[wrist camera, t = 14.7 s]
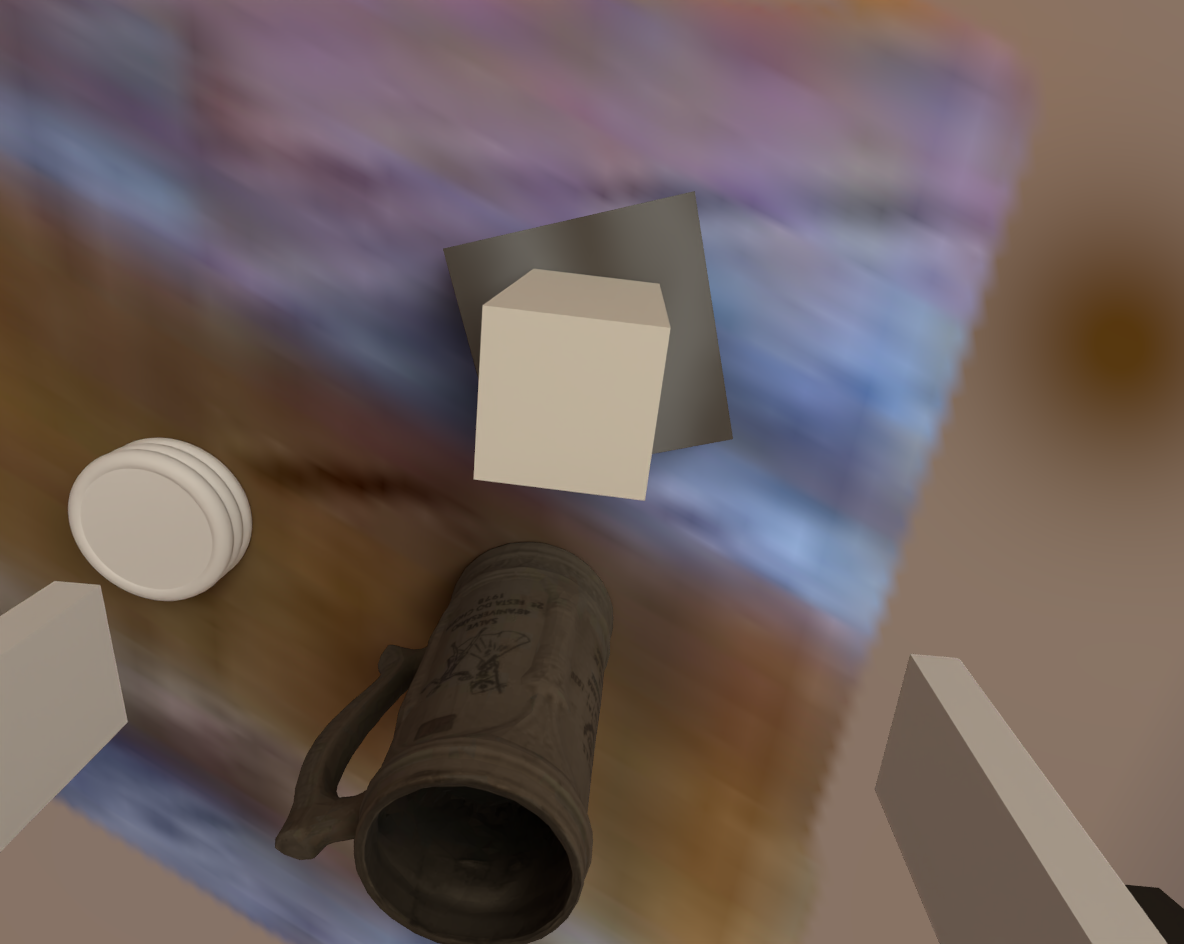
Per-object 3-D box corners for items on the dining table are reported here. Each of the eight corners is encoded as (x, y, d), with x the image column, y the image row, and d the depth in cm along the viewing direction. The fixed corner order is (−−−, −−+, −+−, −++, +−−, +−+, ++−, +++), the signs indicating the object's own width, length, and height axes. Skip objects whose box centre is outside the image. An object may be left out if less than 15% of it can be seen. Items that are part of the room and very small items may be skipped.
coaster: (138, 403, 44) (97, 419, 40) (282, 493, 45) (254, 516, 42) (81, 523, 47) (39, 547, 44) (217, 603, 48) (187, 632, 45)
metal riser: (522, 445, 43) (506, 480, 38) (470, 242, 39) (443, 248, 34) (719, 408, 42) (732, 438, 36) (685, 193, 38) (694, 191, 32)
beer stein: (595, 517, 44) (530, 751, 26) (645, 658, 48) (619, 954, 29) (378, 572, 48) (184, 812, 29) (439, 699, 51) (300, 987, 33)
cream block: (524, 390, 36) (473, 479, 25) (533, 268, 34) (482, 305, 23) (642, 405, 36) (644, 500, 25) (659, 283, 34) (670, 328, 22)
